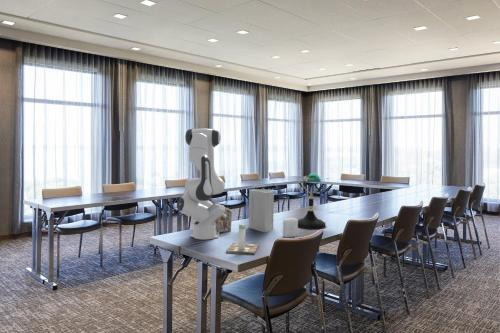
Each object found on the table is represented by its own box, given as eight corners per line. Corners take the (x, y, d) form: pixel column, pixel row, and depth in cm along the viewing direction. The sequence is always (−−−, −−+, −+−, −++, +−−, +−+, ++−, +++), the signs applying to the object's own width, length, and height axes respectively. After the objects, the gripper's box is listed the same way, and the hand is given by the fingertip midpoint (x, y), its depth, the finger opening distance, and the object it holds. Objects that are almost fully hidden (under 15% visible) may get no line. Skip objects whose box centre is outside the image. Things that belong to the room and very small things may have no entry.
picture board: (232, 244, 234) (232, 242, 234) (258, 246, 232) (258, 244, 232) (226, 253, 217) (226, 250, 217) (254, 254, 214) (254, 252, 214)
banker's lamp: (326, 230, 278) (327, 175, 276) (293, 228, 282) (295, 174, 280) (325, 223, 304) (326, 172, 302) (296, 221, 308) (297, 171, 306)
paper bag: (280, 229, 278) (281, 191, 277) (264, 232, 270) (265, 192, 268) (264, 225, 294) (264, 188, 292) (248, 227, 285) (248, 189, 283)
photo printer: (295, 235, 263) (295, 217, 262) (298, 236, 259) (298, 218, 258) (281, 236, 259) (282, 218, 258) (284, 237, 255) (285, 219, 254)
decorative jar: (231, 231, 271) (232, 205, 271) (218, 232, 264) (219, 206, 263) (221, 228, 280) (222, 203, 280) (207, 229, 272) (209, 204, 272)
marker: (239, 248, 222) (239, 224, 221) (245, 248, 221) (246, 224, 221) (237, 249, 218) (238, 225, 218) (244, 250, 218) (244, 225, 217)
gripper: (213, 198, 218) (231, 206, 227) (190, 217, 228) (208, 224, 236) (214, 207, 214) (232, 215, 223) (191, 226, 223) (209, 232, 232)
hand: (220, 220), depth 229 cm, fingers open, 8 cm apart
